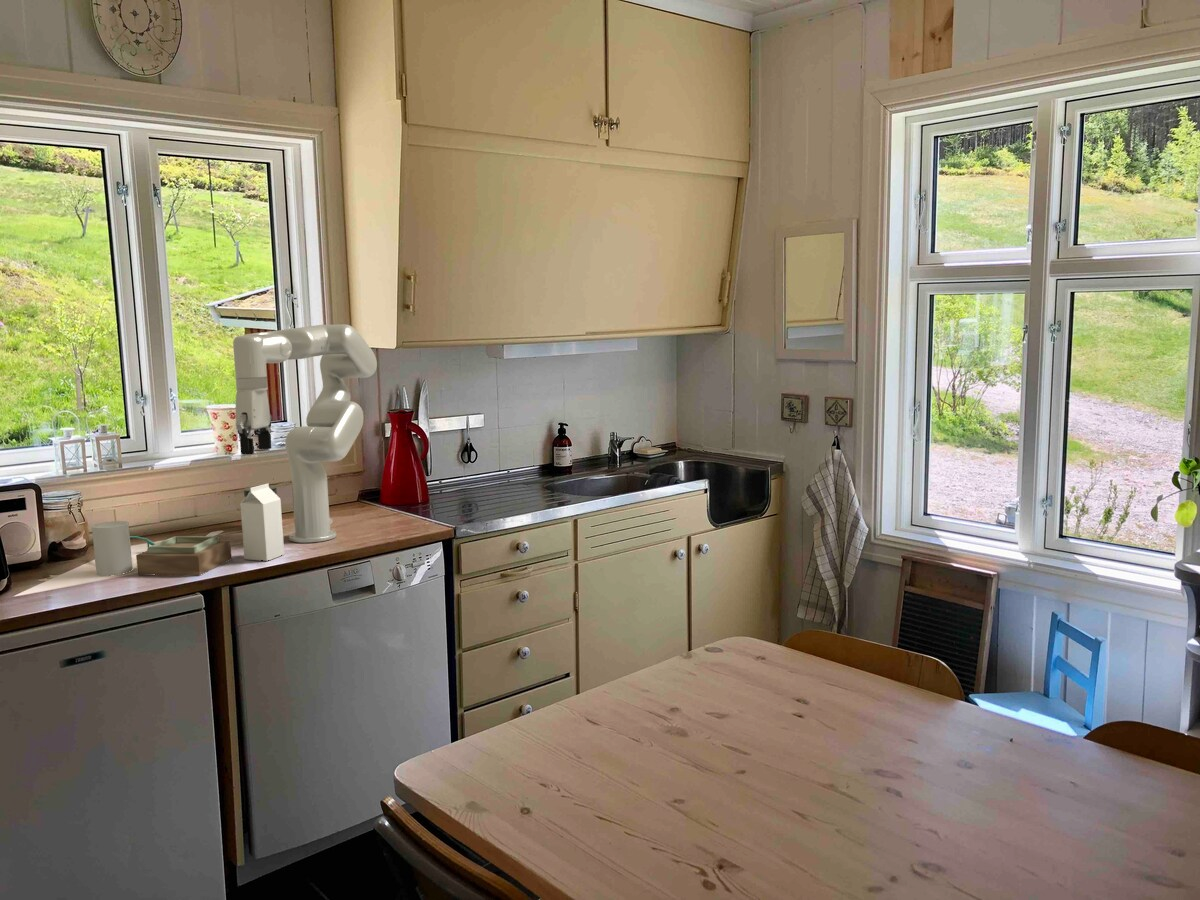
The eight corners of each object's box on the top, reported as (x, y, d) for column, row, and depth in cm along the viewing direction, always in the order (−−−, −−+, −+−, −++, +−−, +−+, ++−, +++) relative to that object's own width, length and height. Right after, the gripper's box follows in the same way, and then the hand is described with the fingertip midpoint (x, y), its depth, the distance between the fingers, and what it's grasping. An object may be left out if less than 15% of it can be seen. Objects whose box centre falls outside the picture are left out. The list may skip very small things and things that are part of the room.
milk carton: (284, 555, 256) (279, 483, 253) (267, 561, 249) (261, 488, 247) (262, 553, 258) (257, 482, 256) (244, 560, 252) (238, 487, 249)
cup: (139, 567, 246) (135, 521, 245) (120, 576, 238) (116, 528, 237) (108, 567, 247) (104, 521, 246) (89, 576, 239) (84, 528, 238)
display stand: (173, 558, 255) (171, 534, 254) (231, 559, 253) (229, 534, 252) (137, 575, 239) (135, 549, 238) (199, 575, 237) (197, 549, 236)
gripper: (253, 382, 257) (258, 446, 259) (220, 387, 240) (226, 456, 242) (280, 382, 256) (285, 446, 258) (250, 387, 239) (254, 456, 241)
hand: (256, 451), depth 250 cm, fingers open, 9 cm apart
